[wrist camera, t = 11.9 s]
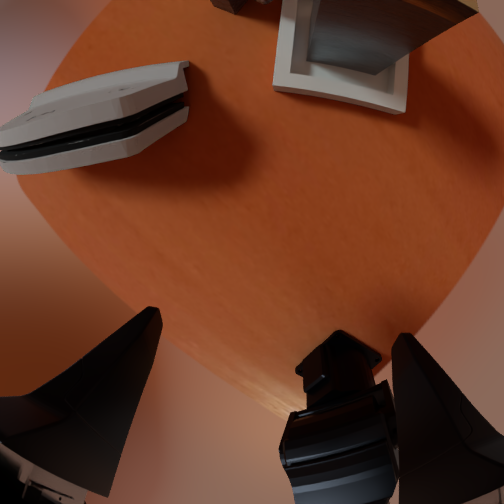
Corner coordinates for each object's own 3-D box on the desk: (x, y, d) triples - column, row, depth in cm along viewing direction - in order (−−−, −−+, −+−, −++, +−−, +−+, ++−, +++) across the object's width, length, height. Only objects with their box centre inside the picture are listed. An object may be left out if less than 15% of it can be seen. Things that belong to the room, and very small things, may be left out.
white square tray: (398, 16, 14) (408, 7, 12) (394, 114, 17) (405, 112, 15) (285, -9, 14) (285, -21, 12) (274, 90, 18) (272, 85, 16)
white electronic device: (193, 59, 17) (124, 79, 10) (196, 115, 21) (138, 169, 13) (42, 92, 19) (-32, 133, 11) (50, 132, 22) (-17, 182, 15)
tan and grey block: (377, 30, 14) (460, -57, 2) (375, 75, 16) (478, 12, 4) (310, 15, 15) (330, -103, 3) (306, 61, 16) (330, -44, 4)
